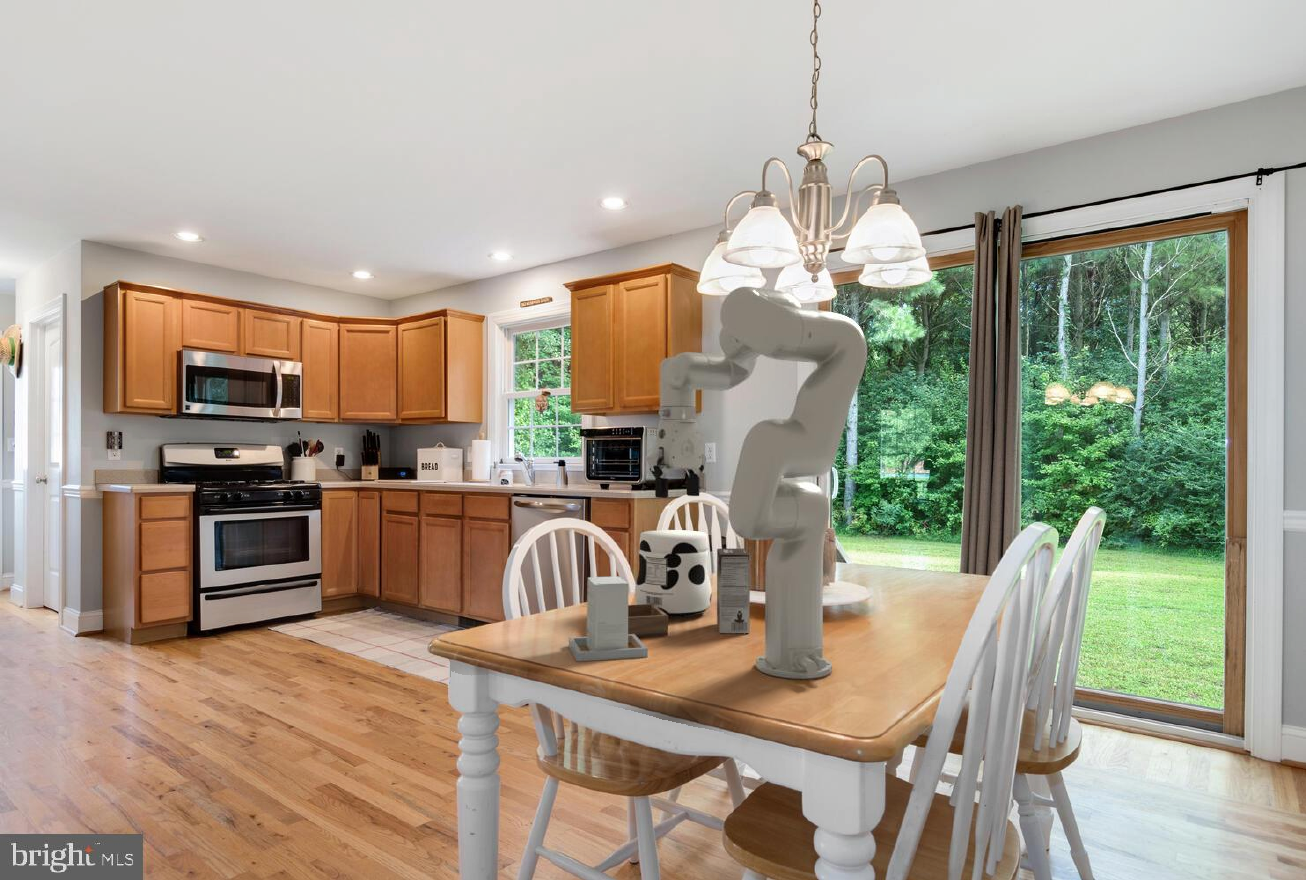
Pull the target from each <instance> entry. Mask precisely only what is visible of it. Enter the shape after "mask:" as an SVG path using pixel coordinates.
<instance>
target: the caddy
mask: <svg viewBox="0 0 1306 880" xmlns="http://www.w3.org/2000/svg"><path fill="white" fill-rule="evenodd" d="M628 634H635V635H636V636H637V637H638V639H639V638H640V639H641V638H657V637H668V636H669V617H668V615H667V614H665V613H664V612H663V611H662V610H660V609H659V608H658V607H657V606H655V605H654V604H642V605H637V604H628Z"/></svg>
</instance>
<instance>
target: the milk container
mask: <svg viewBox="0 0 1306 880" xmlns="http://www.w3.org/2000/svg"><path fill="white" fill-rule="evenodd" d="M708 550H709V540H708V534H707V533H706V532H703V531H697V530H686V529H685V530H683V529H658V530H647V531H644V532H643V531H642V532H640V535H639V551H638V561H639V563H638V568H639V569H638V575H637V579H636V582H635V587H634V597H635V605H642V604H654V605H655V606H657V607H658V608H659V609H660V610H662V611H663V612H664V613H665V614H667V615H668V618H685V617H691V616H692V617H693V616H696V615H700V614H703V613H705V612H706V611H707V610H709V608H710V606H711V603H712V594H713V592H712V591H713V590H712V584H711V581H710V576H709V573H708V572H709V571H708V570H709V569H708V561H709V552H708Z"/></svg>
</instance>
